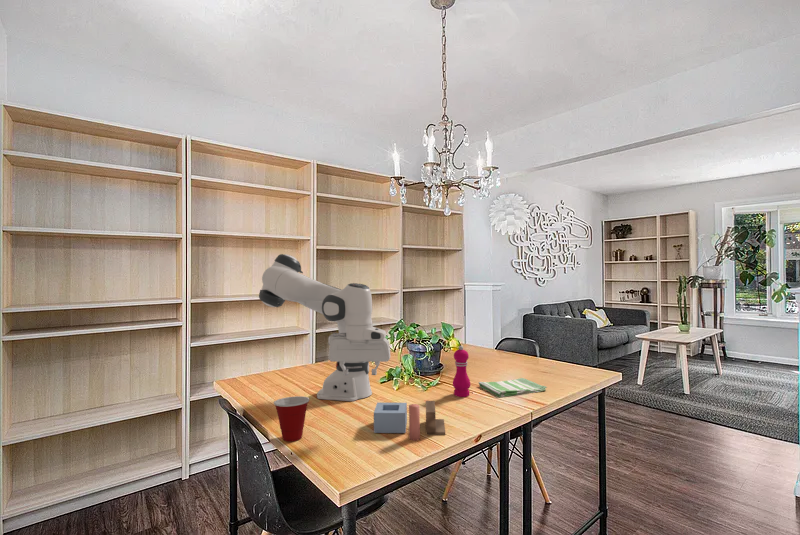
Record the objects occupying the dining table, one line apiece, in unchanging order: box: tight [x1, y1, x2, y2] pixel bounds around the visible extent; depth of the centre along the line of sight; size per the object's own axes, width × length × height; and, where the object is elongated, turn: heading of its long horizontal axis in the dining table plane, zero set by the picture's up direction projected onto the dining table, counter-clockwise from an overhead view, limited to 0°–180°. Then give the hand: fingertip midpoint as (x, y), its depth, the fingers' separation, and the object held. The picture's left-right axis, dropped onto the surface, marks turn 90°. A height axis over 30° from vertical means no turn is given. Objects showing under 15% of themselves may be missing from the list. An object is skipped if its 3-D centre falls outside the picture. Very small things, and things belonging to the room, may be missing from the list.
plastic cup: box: [273, 395, 310, 443], centre depth 129 cm, size 11×11×12 cm
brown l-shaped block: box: [425, 400, 446, 436], centre depth 135 cm, size 6×11×7 cm, turn 176°
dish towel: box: [478, 377, 548, 398], centre depth 177 cm, size 18×23×3 cm
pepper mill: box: [452, 345, 472, 398], centre depth 170 cm, size 7×7×20 cm
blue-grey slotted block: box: [373, 402, 408, 434], centre depth 136 cm, size 10×10×6 cm
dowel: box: [408, 403, 421, 442], centre depth 127 cm, size 3×3×10 cm
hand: (359, 374), depth 137 cm, fingers open, 8 cm apart
